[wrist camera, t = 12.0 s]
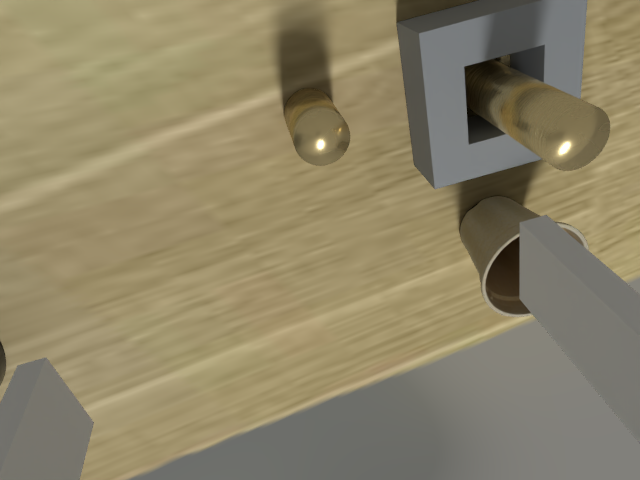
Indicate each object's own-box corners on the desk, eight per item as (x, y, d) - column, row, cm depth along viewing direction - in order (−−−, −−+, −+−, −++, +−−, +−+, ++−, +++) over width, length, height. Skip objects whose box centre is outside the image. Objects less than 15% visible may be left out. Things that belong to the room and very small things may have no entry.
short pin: (291, 142, 41) (301, 171, 36) (278, 95, 39) (287, 119, 34) (337, 129, 42) (354, 157, 37) (327, 82, 39) (344, 104, 34)
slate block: (414, 165, 44) (434, 189, 40) (396, 22, 38) (418, 33, 34) (543, 129, 45) (576, 149, 41) (547, -19, 38) (587, -13, 34)
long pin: (453, 110, 42) (544, 178, 31) (450, 62, 40) (546, 115, 29) (498, 97, 43) (606, 160, 31) (497, 49, 40) (613, 97, 29)
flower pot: (432, 203, 47) (472, 252, 40) (528, 163, 46) (585, 205, 39) (453, 276, 52) (492, 332, 45) (539, 241, 52) (593, 291, 44)
